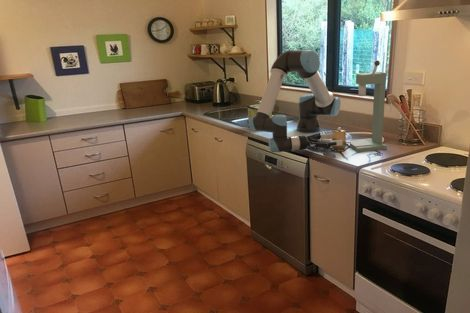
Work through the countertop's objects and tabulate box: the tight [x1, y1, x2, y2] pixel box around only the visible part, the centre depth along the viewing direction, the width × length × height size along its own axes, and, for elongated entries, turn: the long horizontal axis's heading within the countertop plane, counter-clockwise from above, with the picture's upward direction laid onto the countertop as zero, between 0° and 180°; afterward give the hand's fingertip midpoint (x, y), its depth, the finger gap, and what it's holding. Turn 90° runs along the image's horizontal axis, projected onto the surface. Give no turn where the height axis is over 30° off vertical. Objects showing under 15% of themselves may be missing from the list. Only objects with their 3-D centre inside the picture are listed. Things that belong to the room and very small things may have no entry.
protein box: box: [247, 103, 273, 123], centre depth 255 cm, size 10×16×16 cm
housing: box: [331, 127, 347, 152], centre depth 198 cm, size 7×7×12 cm
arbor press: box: [349, 60, 388, 153], centre depth 194 cm, size 16×16×46 cm
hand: (337, 139), depth 197 cm, fingers open, 13 cm apart
